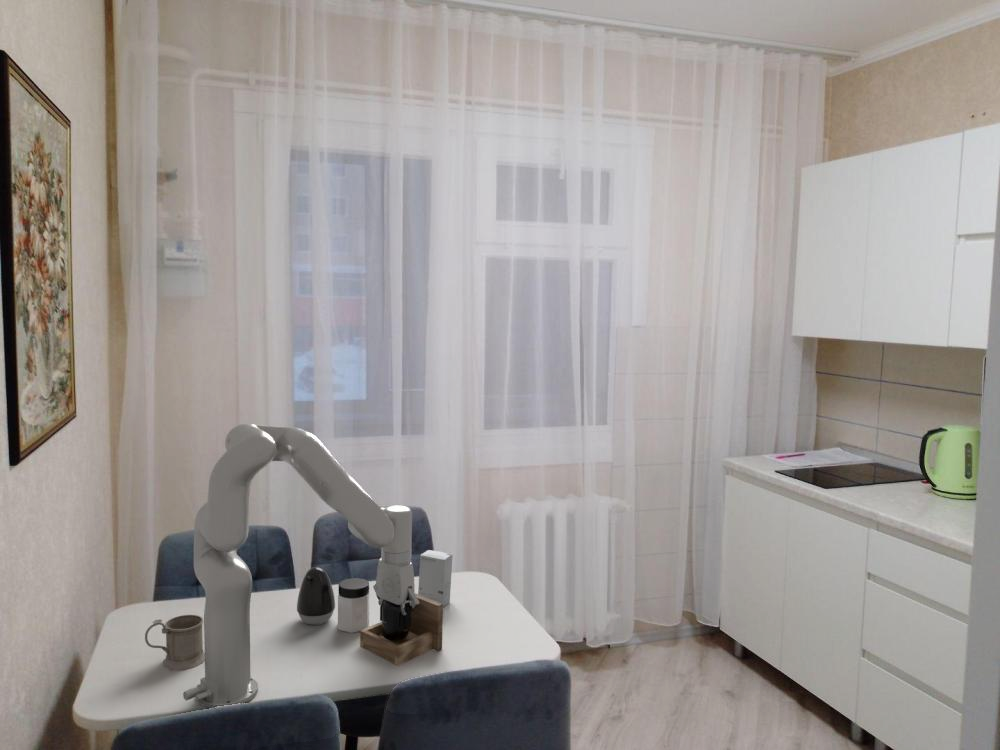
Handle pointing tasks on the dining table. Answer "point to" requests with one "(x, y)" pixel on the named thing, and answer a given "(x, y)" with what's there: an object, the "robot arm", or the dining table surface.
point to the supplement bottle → (392, 622)
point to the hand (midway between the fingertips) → (395, 623)
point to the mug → (181, 642)
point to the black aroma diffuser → (315, 597)
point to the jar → (353, 605)
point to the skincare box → (435, 576)
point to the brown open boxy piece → (419, 639)
